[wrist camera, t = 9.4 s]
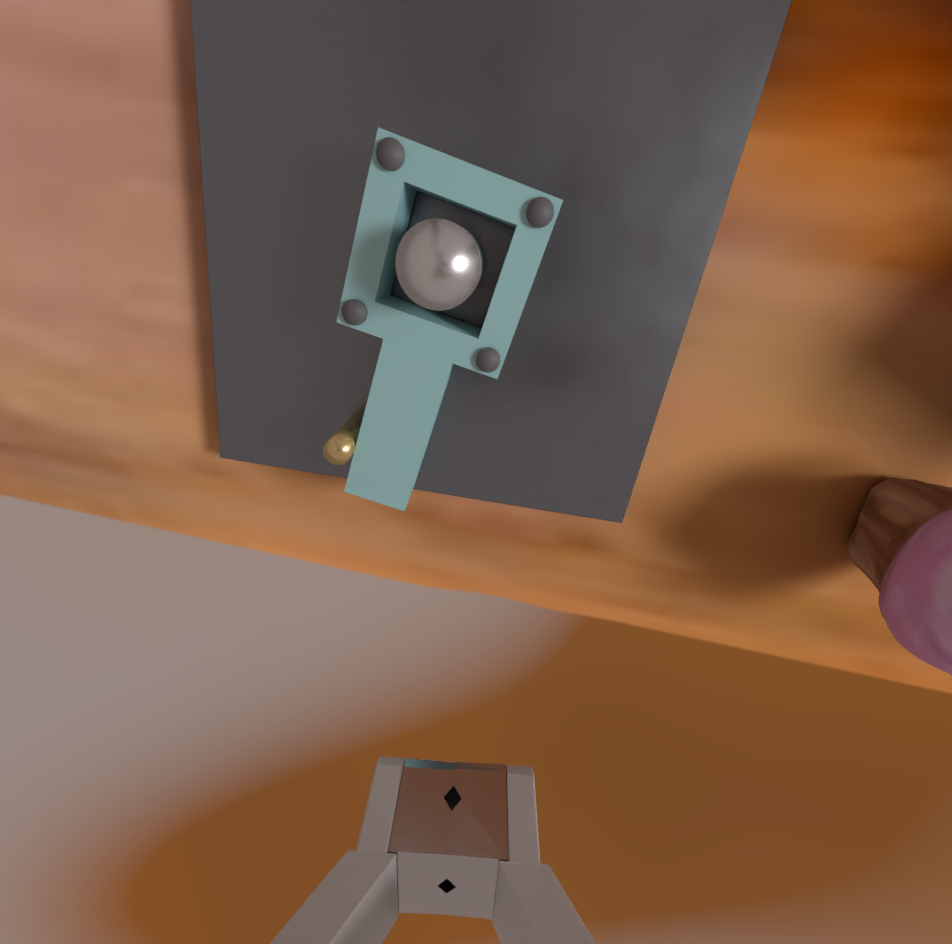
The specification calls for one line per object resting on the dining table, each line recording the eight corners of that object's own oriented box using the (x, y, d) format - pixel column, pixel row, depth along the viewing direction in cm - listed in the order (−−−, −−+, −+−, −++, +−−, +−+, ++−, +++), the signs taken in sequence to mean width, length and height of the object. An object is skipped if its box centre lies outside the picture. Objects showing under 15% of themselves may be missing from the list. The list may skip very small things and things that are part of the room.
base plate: (200, -126, 18) (62, -296, 12) (784, -18, 18) (909, -135, 13) (231, 449, 28) (161, 500, 22) (617, 512, 28) (646, 578, 22)
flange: (395, 143, 20) (376, 125, 17) (555, 206, 21) (564, 199, 18) (323, 454, 26) (301, 480, 23) (450, 495, 27) (443, 526, 24)
